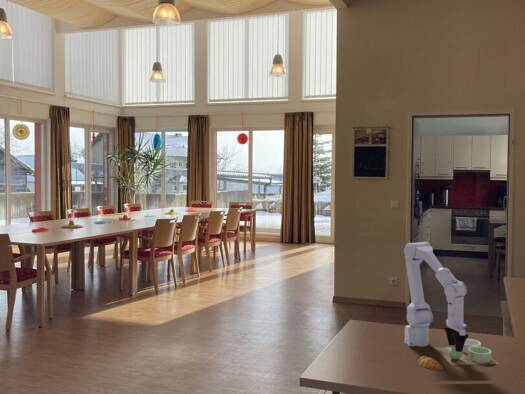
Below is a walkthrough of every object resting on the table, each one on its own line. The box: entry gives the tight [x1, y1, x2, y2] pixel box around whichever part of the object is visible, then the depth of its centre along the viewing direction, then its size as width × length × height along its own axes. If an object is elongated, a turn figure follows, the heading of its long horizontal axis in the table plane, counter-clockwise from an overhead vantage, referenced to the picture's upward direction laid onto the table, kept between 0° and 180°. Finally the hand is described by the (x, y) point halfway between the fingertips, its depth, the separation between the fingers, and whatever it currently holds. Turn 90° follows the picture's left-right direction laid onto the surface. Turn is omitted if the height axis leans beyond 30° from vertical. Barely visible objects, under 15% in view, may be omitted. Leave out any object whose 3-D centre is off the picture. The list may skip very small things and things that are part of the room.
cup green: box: [468, 346, 492, 363], centre depth 204 cm, size 8×8×4 cm
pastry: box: [417, 355, 444, 371], centre depth 197 cm, size 9×7×4 cm
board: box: [433, 346, 499, 366], centre depth 208 cm, size 18×20×1 cm
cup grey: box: [462, 338, 482, 354], centre depth 213 cm, size 8×8×4 cm
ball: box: [448, 345, 462, 360], centre depth 204 cm, size 5×5×5 cm
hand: (455, 348), depth 203 cm, fingers open, 7 cm apart
